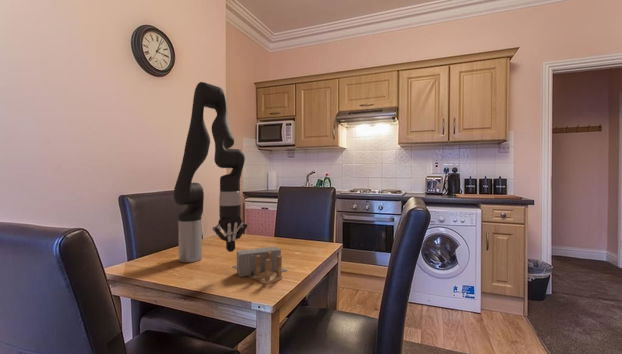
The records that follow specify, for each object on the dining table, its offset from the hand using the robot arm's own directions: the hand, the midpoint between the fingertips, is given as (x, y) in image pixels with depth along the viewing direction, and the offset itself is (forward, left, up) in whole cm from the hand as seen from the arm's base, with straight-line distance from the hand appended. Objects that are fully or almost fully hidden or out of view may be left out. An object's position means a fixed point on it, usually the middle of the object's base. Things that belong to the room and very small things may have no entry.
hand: (230, 251), depth 107 cm
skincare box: (+1, +2, -5) cm, 5 cm away
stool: (+12, +9, -9) cm, 17 cm away
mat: (0, +12, -9) cm, 15 cm away
